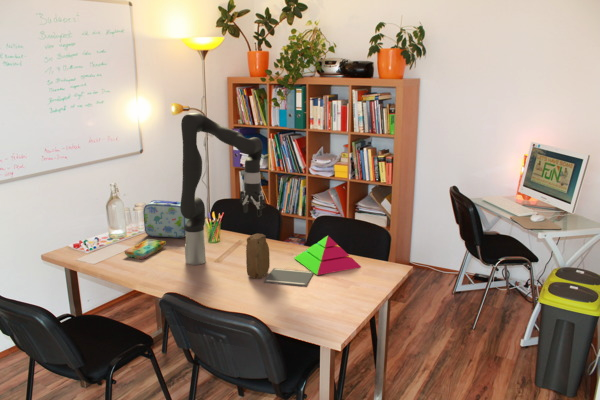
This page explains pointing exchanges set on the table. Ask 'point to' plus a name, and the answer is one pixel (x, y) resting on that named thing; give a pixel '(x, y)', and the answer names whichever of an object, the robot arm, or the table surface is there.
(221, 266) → the table surface
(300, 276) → the mat
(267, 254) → the brown rounded elongated part
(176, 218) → the lunch box
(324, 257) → the pyramid toy
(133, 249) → the puzzle game
